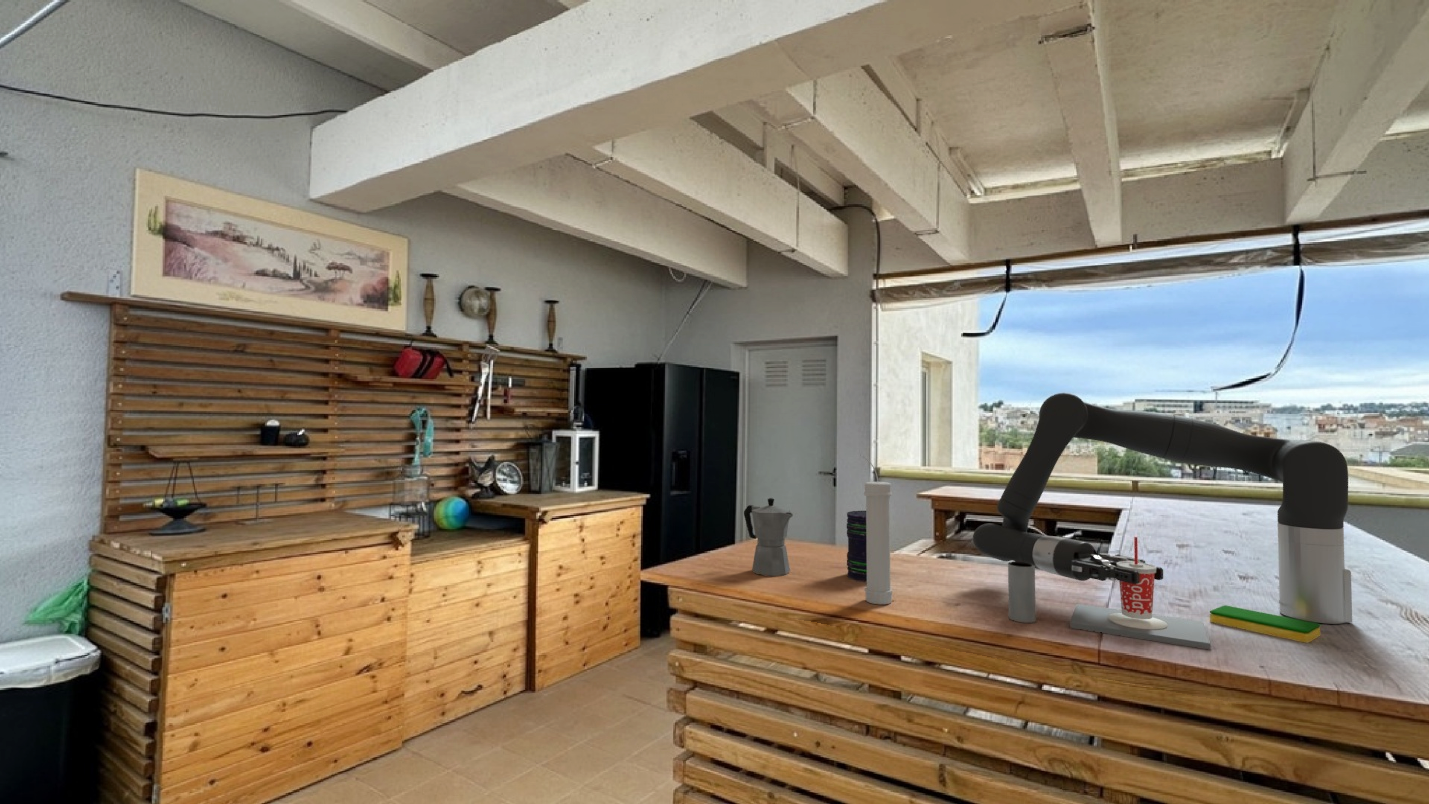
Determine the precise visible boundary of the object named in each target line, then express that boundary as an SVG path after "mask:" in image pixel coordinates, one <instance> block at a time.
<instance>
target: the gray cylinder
mask: <svg viewBox="0 0 1429 804" xmlns="http://www.w3.org/2000/svg"><path fill="white" fill-rule="evenodd" d="M1007 576H1008V577H1007V578H1008V579H1007V582H1008V583H1007V584H1008V589H1007V590H1008V592H1007V593H1008V594H1007V595H1008V618H1009V619H1010V620H1011V621H1013V620H1014V622H1016V623H1017V622H1018V623H1024V624H1025V623H1026V624H1029V623H1030V624H1031V623H1034V622H1036V619H1037V618H1036V616H1037V615H1036V568H1035V565H1034V564H1032V563H1028V562H1020V561H1013V560H1012V561H1008V562H1007Z"/></svg>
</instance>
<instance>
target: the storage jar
mask: <svg viewBox="0 0 1429 804" xmlns="http://www.w3.org/2000/svg"><path fill="white" fill-rule="evenodd" d="M846 516H847V519H846V536H847V541H848V542H847V545H848V546H847V553H846V568H847V578H849V579H851V580H853V581H858V582H865V583H867V536H866V510H852V511H847V512H846Z"/></svg>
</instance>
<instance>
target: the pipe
mask: <svg viewBox="0 0 1429 804" xmlns="http://www.w3.org/2000/svg"><path fill="white" fill-rule="evenodd" d="M860 457H862V458H863V459H865V460H866V461H868V463H869V464H870V465H871V467H872V469H873V470H874V472H875V476H876V481H867V482H865V483H864V493H863V495H864V496H866V497H865V499H866V500H865V505H866V508H865V509H866V510H865V511H866V536H867V582H866V586H865V587H864V592H865V601H866V602H867V603H869V604H873V605H881V606H882V605H884V606H885V605H888V604H889V605H890V604H891V603H892V602H893V588H892V587H891V503H890V502H891V497H892V496H893V493H892V484H891V482H887V481H879V478H878V473H877V471H876V468H875V466H874V464H873V463H872V462H871V461H870V460H869V459H868V458H866V457H865V456H864V455H862V454H860Z"/></svg>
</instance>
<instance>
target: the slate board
mask: <svg viewBox="0 0 1429 804" xmlns="http://www.w3.org/2000/svg"><path fill="white" fill-rule="evenodd" d="M1069 627H1070V628H1069V629H1074V630H1080V629H1083V630H1082V631H1087V630H1088V632H1093V631H1095V632H1094V633H1100V632H1102V633H1101V634H1106V633H1107V635H1113V636H1119V635H1121V636H1120V637H1126V638H1132V639H1139V640H1146V641H1152V642H1159V643H1164V644H1170V645H1171V644H1173V645H1177V646H1185V647H1191V648H1196V647H1197V649H1203V650H1209V651H1210V650H1212V649H1211V647H1212V646H1211V641H1210V637H1209V634H1208V631H1207V628H1206V625H1205V622H1204V620H1198V619H1192V618H1191V619H1190V618H1184V617H1177V616H1176V617H1175V616H1170V615H1162V614H1155V613H1152V618H1151V619H1136V618H1131V617H1127V616H1124V615H1123V614H1122V609H1117V608H1110V607H1104V606H1097V605H1087V604H1082V603H1076V605H1075V607H1074V610H1073V614H1072V616H1071V620H1070V623H1069Z"/></svg>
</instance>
